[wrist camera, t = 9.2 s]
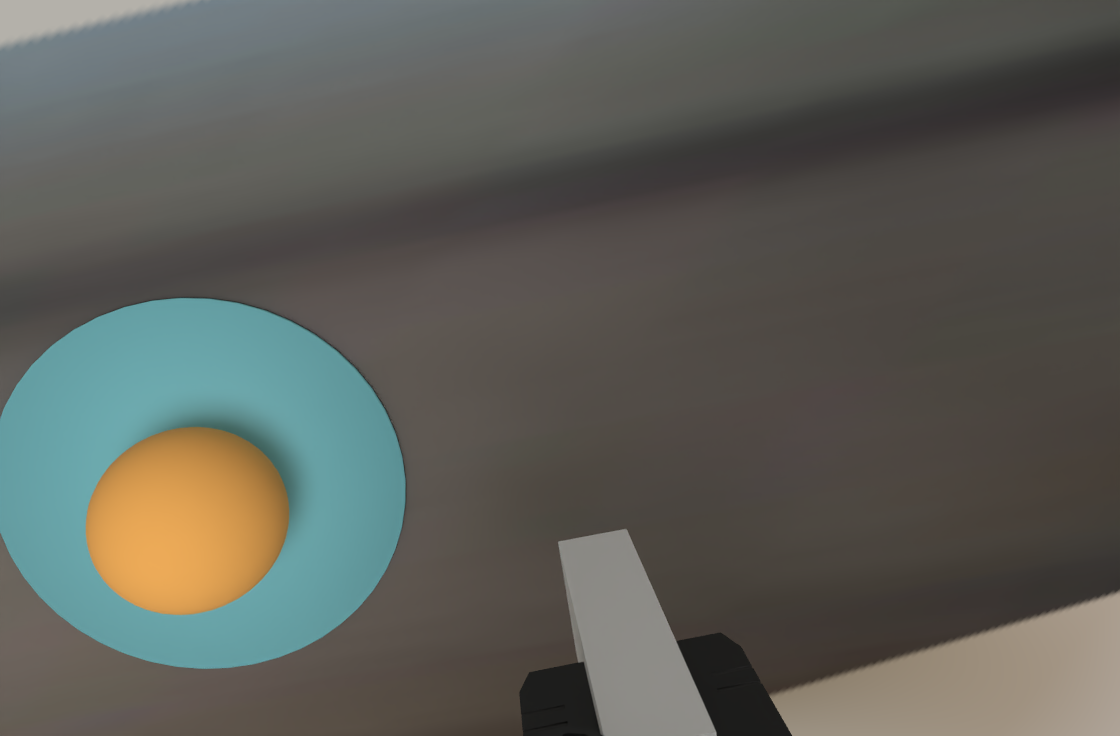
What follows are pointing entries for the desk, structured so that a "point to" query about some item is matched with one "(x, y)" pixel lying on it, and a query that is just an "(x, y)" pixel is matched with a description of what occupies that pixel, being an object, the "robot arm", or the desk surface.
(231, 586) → the ball
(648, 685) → the robot arm
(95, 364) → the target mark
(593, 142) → the desk surface
